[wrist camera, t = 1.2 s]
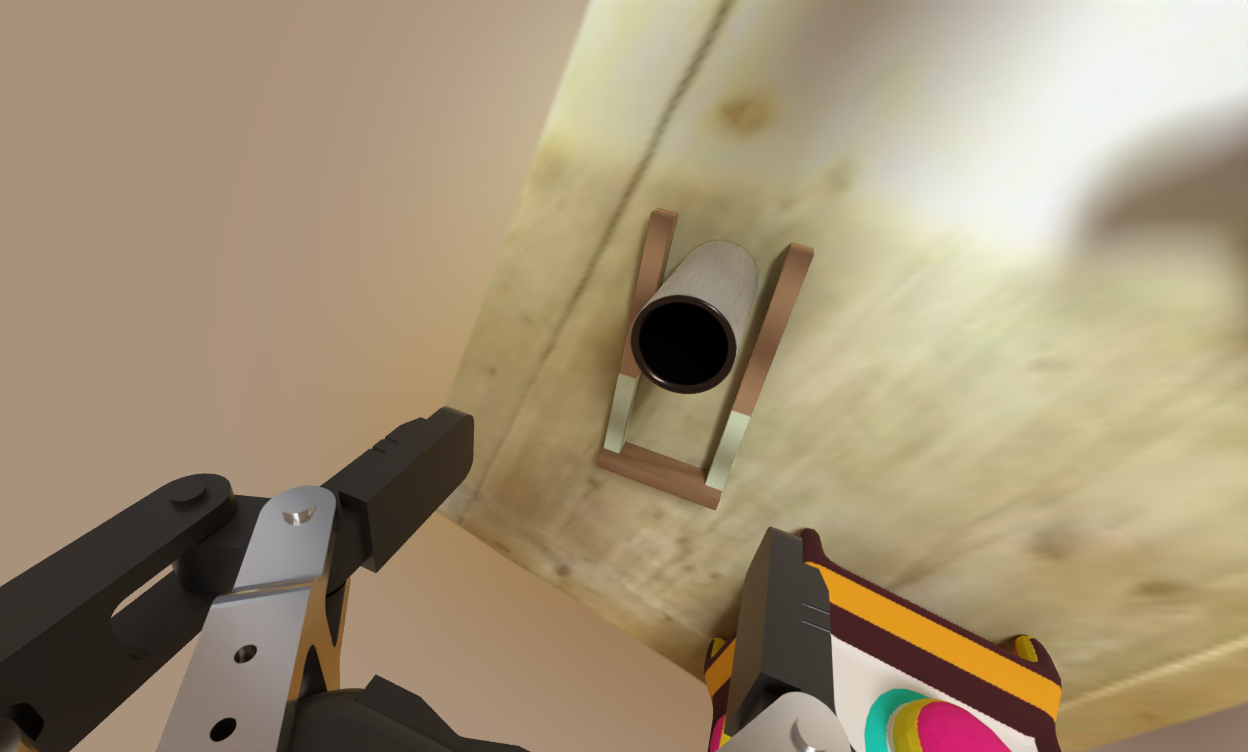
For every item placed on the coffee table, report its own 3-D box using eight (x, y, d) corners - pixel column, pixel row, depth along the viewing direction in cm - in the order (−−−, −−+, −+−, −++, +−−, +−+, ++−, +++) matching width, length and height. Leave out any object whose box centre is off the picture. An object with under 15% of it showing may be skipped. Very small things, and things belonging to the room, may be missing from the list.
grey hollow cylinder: (694, 322, 30) (650, 403, 22) (670, 253, 29) (613, 311, 20) (767, 303, 29) (750, 385, 20) (746, 228, 27) (717, 281, 18)
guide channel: (658, 208, 28) (646, 215, 26) (813, 248, 26) (813, 259, 24) (608, 446, 37) (596, 466, 35) (720, 487, 36) (715, 510, 34)
